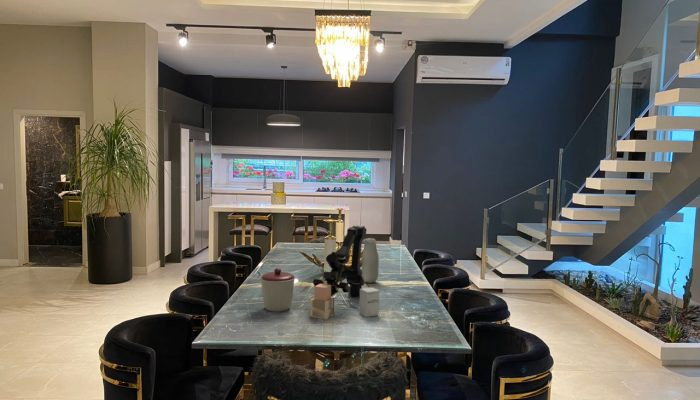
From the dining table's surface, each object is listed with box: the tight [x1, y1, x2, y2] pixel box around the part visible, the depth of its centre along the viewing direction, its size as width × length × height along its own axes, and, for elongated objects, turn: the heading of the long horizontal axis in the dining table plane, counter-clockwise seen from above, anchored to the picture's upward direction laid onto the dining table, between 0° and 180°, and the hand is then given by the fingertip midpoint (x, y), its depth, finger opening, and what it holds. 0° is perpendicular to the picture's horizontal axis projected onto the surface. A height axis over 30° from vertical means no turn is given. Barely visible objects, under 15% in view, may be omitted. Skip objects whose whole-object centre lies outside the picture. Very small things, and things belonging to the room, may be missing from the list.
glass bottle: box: [361, 237, 380, 284], centre depth 310 cm, size 10×10×28 cm
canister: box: [259, 267, 296, 313], centre depth 254 cm, size 18×18×21 cm
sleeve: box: [309, 297, 335, 320], centre depth 245 cm, size 8×9×9 cm
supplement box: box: [358, 286, 380, 318], centre depth 248 cm, size 7×7×13 cm
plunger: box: [313, 284, 332, 301], centre depth 245 cm, size 6×6×14 cm
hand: (325, 300), depth 248 cm, fingers closed, pressing on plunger
